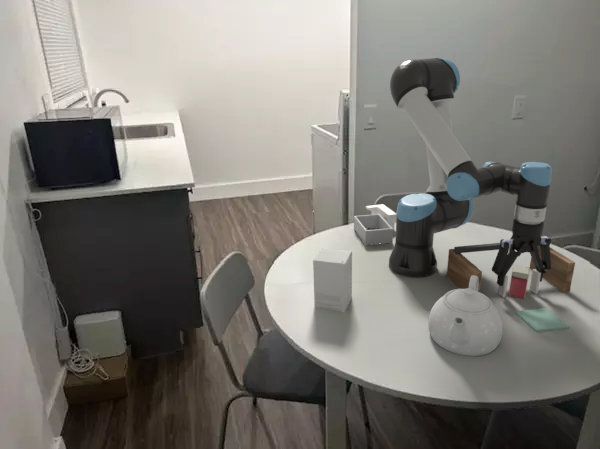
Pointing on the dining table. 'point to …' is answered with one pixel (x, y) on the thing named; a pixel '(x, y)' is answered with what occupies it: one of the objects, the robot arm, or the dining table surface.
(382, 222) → the box
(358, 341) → the dining table surface
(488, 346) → the teapot
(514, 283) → the small box
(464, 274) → the rack
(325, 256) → the supplement box
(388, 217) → the bracket
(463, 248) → the tie bar
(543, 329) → the pad
